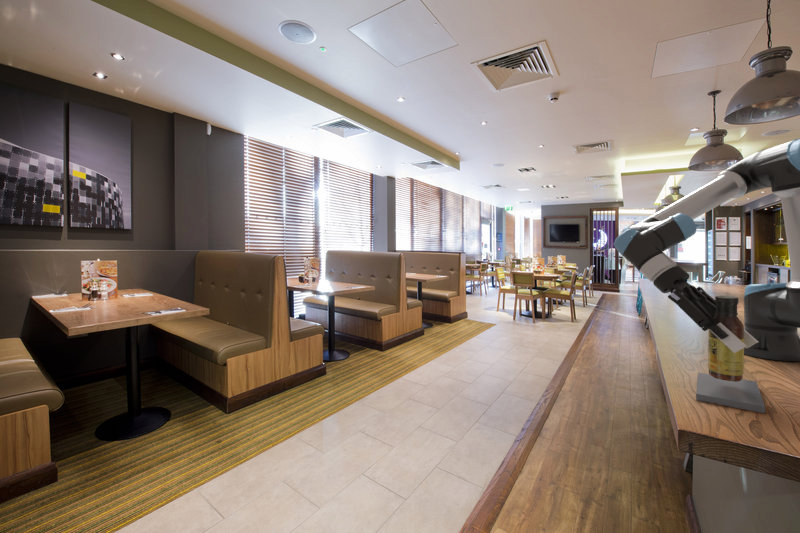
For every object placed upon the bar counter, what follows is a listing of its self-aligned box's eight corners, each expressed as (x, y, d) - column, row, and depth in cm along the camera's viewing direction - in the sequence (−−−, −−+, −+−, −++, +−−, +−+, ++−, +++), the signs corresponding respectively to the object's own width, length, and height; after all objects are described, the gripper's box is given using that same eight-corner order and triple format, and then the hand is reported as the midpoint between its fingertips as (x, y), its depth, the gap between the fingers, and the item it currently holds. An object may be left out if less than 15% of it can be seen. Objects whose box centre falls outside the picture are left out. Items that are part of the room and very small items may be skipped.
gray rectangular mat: (697, 377, 93) (697, 372, 93) (756, 387, 86) (756, 381, 86) (696, 400, 80) (696, 393, 80) (764, 413, 73) (764, 406, 72)
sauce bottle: (707, 371, 88) (707, 294, 87) (741, 376, 84) (742, 295, 83) (708, 379, 82) (709, 296, 82) (745, 385, 78) (746, 298, 78)
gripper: (671, 281, 100) (747, 349, 86) (634, 285, 91) (713, 362, 77) (693, 263, 95) (778, 332, 81) (657, 266, 86) (745, 344, 72)
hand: (746, 347), depth 79 cm, fingers closed on sauce bottle, 6 cm apart
